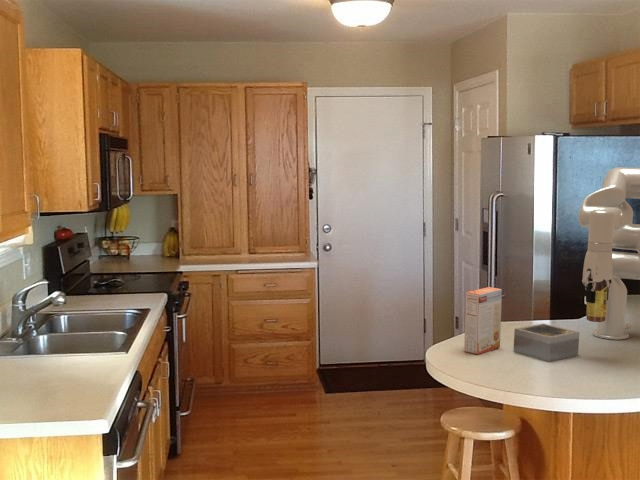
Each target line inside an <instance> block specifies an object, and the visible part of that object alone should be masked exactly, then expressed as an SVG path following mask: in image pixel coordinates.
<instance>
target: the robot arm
mask: <svg viewBox="0 0 640 480" xmlns="http://www.w3.org/2000/svg"><path fill="white" fill-rule="evenodd" d="M627 199H637V200H638V199H640V167H624V166H623V167H621V166H619V167H614V168H613V167H612V168H611V169H610V170H609V171H607V173H606V175H605V177H604V179H603V180H602V186H601V188H600V189H598V190H596V191H594V192H592V193H590V194H589V195H587V196H586V197H584V199H583V201H582V203H581V205H580V208H579V211H578V217H577V219H578V223H579V226H581V227H582V228H585V229H588V238H587V251H586V253H585V256H584V262H583V268H582V270H583V271H582V280H581V282H582V285H583V286H584V289H585V302H586V303H587V302H589V303H595V295H596V291H594V290H595V287H596V283H598V282H602V281H603V280H604V279H605V280H606V282H607V309H606V320H605V321H603V322H597V328H596V329H594V330H592V335H593V336H595V337H597V338H600V339H604V340H605V339H606V340H617V341H618V340H627V339H629V337H630V335H629V333H628V332H626V330H629V329H630V328H631V327H632V326H631V324H630V323H626V314H627V299H628V298H627V297H628V289H627V287H626V285H625V283H624V282H623V281H622V279H627V280H636V281H637V280H640V224H636V223H633V221H634V220H633V217H634V211H633V208H632V206H631V205H630V203H628V201H626V200H627ZM613 249H618V250H619V249H620V250H628V251H629V250H630V251H636V252H637V253H636V252H626V251H613ZM591 280H593V281H591ZM590 283H592V286H591V284H590Z"/></svg>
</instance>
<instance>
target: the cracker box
mask: <svg viewBox="0 0 640 480" xmlns="http://www.w3.org/2000/svg"><path fill="white" fill-rule="evenodd" d="M502 293H503V289H502V288H497V287H493V286H487V287H483V288H480V289H475V290H470V291H466V292H465V312H464V313H465V315H464V348H463V350H464V351H463V352H465V353H470V354H472V355H473V354H474V355H477V356H478V355H481V354H484V353H487V352H489V351H492V350H496V349H499V348H501V329H502V327H501V326H502V300H503V299H502V298H503V297H502Z"/></svg>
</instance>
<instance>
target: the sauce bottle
mask: <svg viewBox="0 0 640 480" xmlns="http://www.w3.org/2000/svg"><path fill="white" fill-rule="evenodd" d="M591 281H593V280H591ZM590 284H591V286H592V283H590ZM594 291H596V295H595V303H589V302H586V314H585V315H586V320H587V321H589V322H592V323H593V322H594V323H598V322H603V321H605V320H606V309H607V282H606V280H605V279H604V280H603V281H602V282H598V283H596V287H595V290H594Z"/></svg>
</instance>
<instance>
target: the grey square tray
mask: <svg viewBox="0 0 640 480" xmlns="http://www.w3.org/2000/svg"><path fill="white" fill-rule="evenodd" d="M513 331H514V334H513V352H514V353H517V354H521V355H524V356H527V357H531V358H534V359H538V360H541V361H544V362H548V363H551V362H556V361H560V360H564V359H568V358H573V357H577V355H578V356H579V345H580V331H576V330H571V329H568V328H564V327H560V326H555V325H551V324H547V323H539V324H538V323H537V324H533V325H528V326H523V327H517V328H514V330H513Z"/></svg>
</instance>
